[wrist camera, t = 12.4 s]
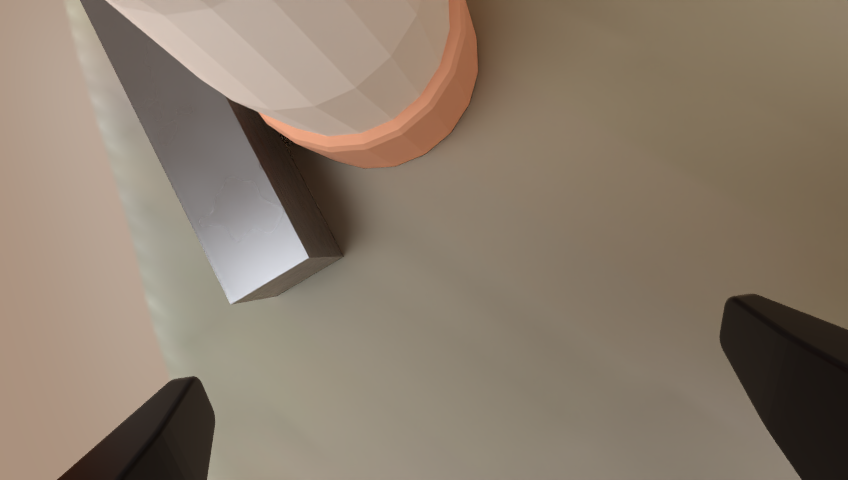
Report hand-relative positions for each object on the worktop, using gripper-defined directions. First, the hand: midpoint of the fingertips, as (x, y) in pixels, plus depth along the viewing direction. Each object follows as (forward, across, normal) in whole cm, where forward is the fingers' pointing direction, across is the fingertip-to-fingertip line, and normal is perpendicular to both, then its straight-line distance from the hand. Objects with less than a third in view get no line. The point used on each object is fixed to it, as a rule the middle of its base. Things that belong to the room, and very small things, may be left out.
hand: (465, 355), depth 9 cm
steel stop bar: (+13, +7, -1) cm, 15 cm away
